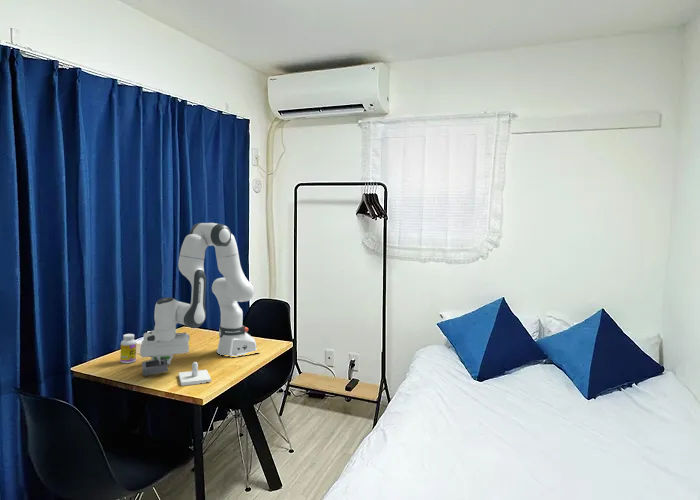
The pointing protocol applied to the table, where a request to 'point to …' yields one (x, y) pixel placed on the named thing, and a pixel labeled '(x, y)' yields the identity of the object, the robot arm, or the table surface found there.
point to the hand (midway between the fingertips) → (164, 364)
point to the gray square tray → (154, 367)
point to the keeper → (194, 376)
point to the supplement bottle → (128, 349)
